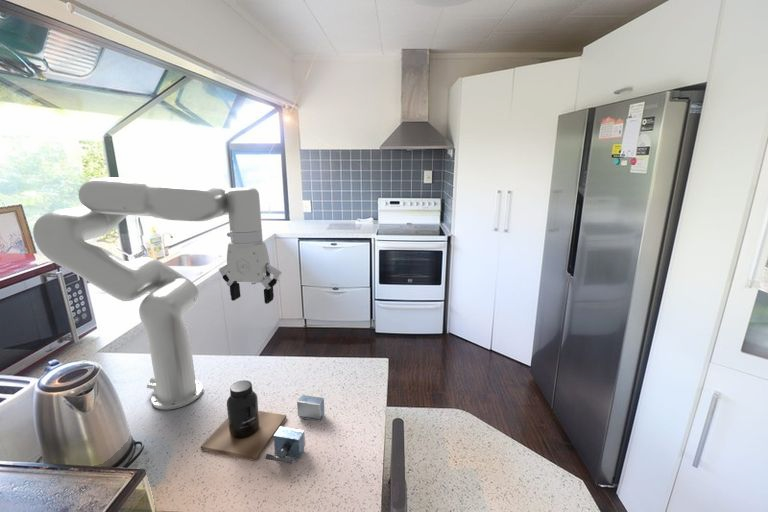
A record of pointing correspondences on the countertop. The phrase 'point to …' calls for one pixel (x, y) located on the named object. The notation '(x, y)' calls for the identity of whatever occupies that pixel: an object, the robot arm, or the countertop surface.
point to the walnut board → (246, 446)
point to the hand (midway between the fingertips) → (252, 300)
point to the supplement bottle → (242, 410)
